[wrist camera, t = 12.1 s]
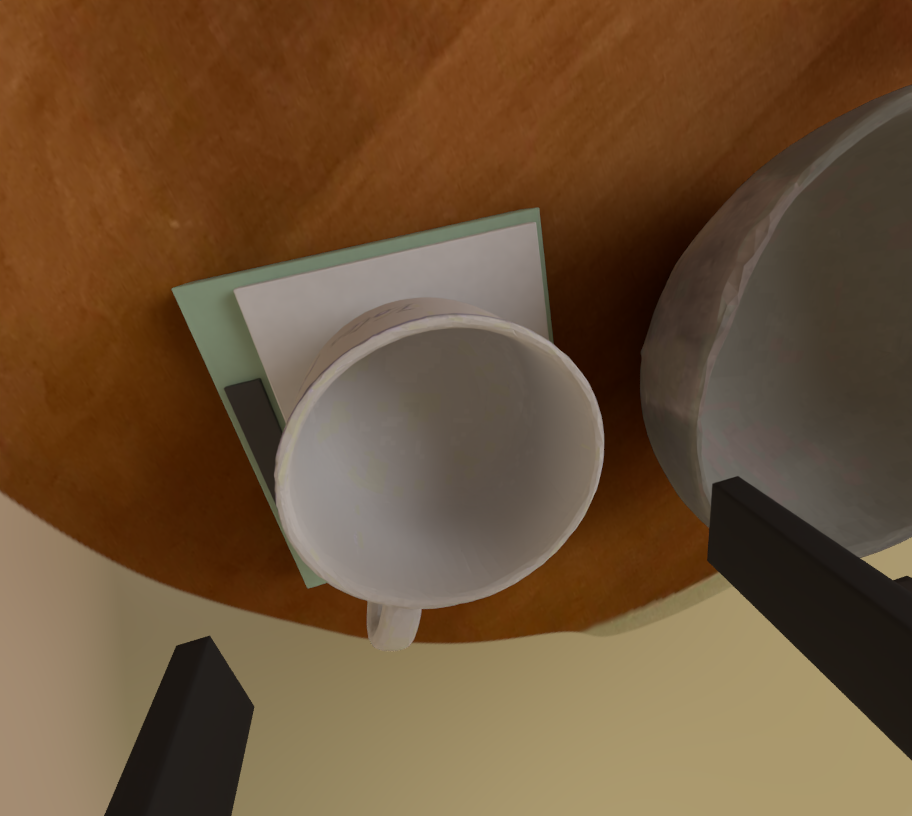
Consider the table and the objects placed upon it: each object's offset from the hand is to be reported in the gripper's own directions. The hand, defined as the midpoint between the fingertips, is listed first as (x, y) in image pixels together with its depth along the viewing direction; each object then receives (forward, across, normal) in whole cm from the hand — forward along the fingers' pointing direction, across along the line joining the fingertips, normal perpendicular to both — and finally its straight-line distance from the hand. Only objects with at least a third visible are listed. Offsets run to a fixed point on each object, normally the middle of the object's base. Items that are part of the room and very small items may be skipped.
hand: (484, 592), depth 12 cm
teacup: (+12, -1, 0) cm, 12 cm away
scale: (+14, -1, 0) cm, 14 cm away
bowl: (+14, +19, 0) cm, 24 cm away
